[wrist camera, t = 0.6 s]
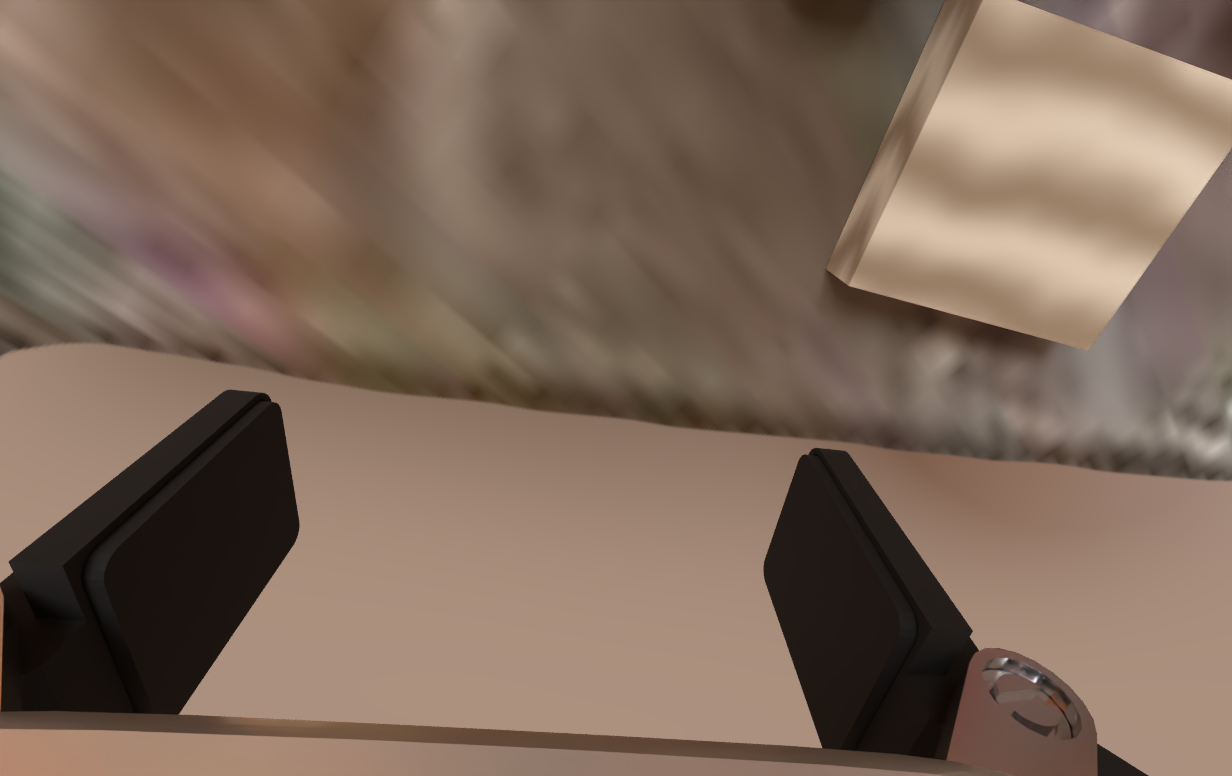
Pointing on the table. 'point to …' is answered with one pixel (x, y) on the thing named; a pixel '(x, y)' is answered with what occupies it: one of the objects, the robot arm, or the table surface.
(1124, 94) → the birch plinth
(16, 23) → the table surface
